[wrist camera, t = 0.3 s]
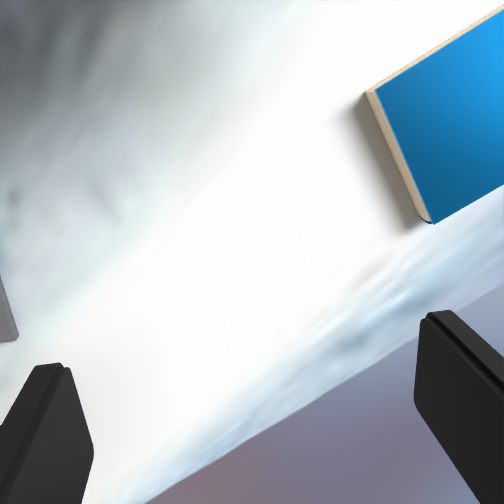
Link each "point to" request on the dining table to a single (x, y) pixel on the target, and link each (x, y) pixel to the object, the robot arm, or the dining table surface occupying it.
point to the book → (448, 119)
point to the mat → (6, 318)
